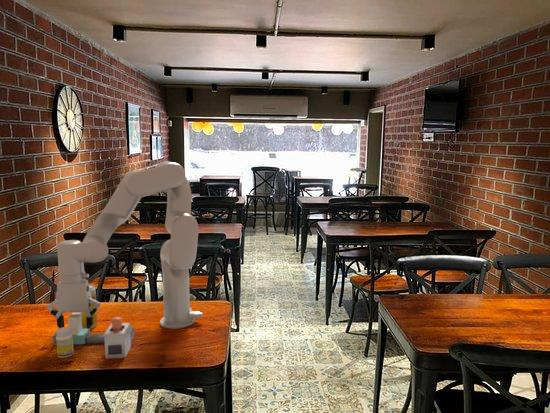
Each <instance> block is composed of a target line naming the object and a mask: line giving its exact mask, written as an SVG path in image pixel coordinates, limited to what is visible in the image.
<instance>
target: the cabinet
mask: <svg viewBox="0 0 550 413" xmlns="http://www.w3.org/2000/svg"><path fill="white" fill-rule="evenodd" d="M130 327H131V322H122V329H123V330H122V331H112V323H110V324H109V326H108V327H107V329H106V330H105V332H104V333H105V334H104V341H105V343H104V354H105V357H104V358H105V359H122V358H126V357H127V355H128V353H129V351H130V349H131V346H132V342H131V334H130Z"/></svg>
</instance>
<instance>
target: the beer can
mask: <svg viewBox="0 0 550 413" xmlns="http://www.w3.org/2000/svg"><path fill="white" fill-rule="evenodd" d="M89 288H90V293H91V298H92V299H94V300H96V301H97V293H96V287H95V285H94V284H89ZM94 307H95V306H94V305H93V304H92V305H91V306H90V308H91V309H92V310H93V309H94ZM78 313H81V316H82V329H84V328H87V324H86V318H87V315H86V314H85V313H84V312H78ZM97 325H98V310H97V311H96V312H95V313H94V314H93V325H92V326H91V327H90V328H89V330H90V329H94V328H95V327H96V326H97Z"/></svg>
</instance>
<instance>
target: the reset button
mask: <svg viewBox="0 0 550 413" xmlns="http://www.w3.org/2000/svg"><path fill="white" fill-rule="evenodd" d="M122 323H123V317H122V316H114V317H112V318H111V324H112V331H122V330H123V329H122Z"/></svg>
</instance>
